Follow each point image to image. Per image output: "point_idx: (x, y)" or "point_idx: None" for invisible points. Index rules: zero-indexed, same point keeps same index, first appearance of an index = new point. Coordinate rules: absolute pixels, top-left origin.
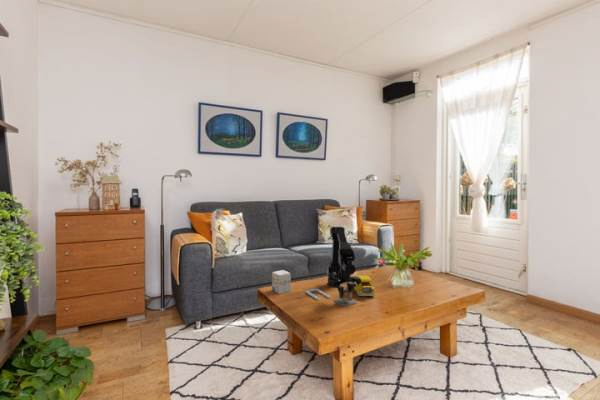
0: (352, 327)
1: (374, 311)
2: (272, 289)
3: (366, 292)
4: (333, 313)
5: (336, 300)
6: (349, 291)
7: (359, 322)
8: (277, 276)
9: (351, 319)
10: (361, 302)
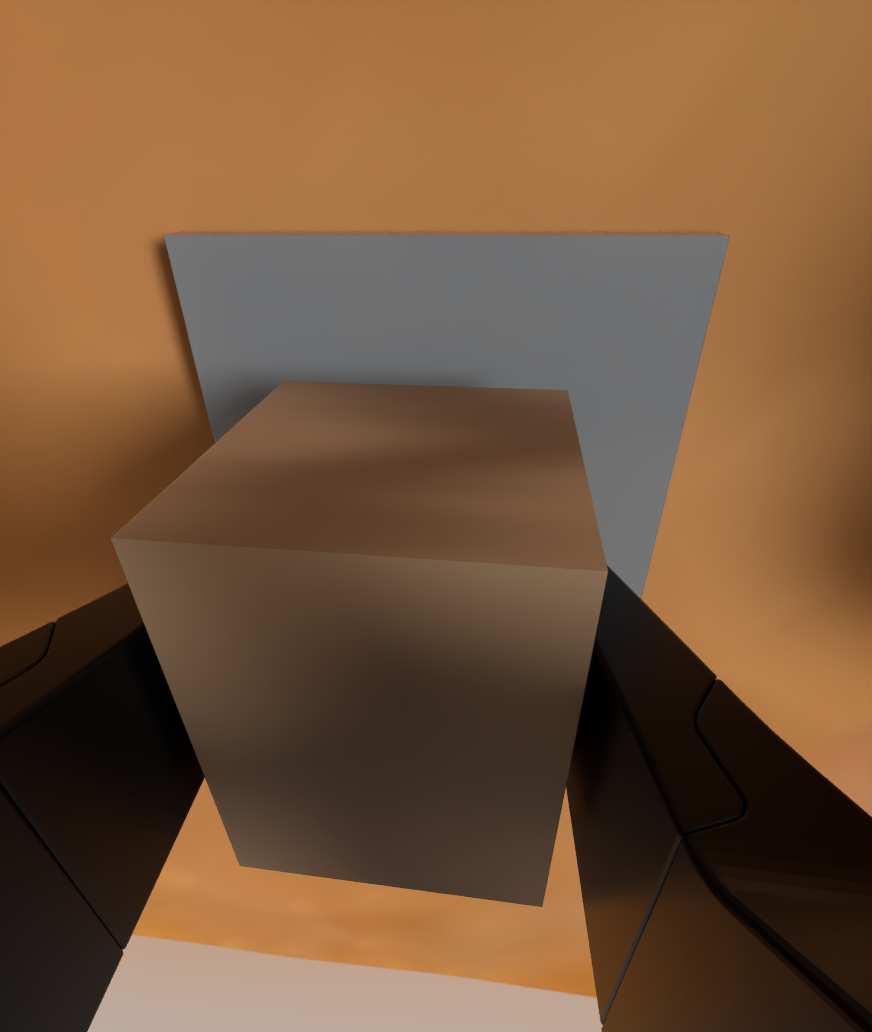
0: (138, 933)
1: None
2: None
3: None
4: None
5: (234, 325)
6: (509, 838)
7: (247, 926)
8: None
9: (195, 874)
10: (783, 651)
